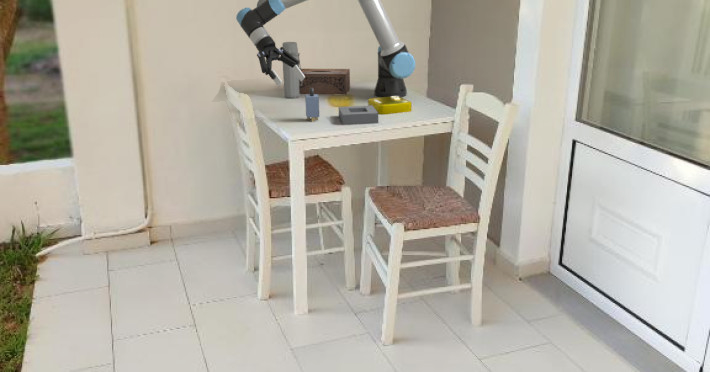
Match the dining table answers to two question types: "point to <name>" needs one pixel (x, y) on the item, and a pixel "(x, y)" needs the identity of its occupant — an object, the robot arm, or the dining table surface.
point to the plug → (312, 105)
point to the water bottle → (291, 72)
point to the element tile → (390, 105)
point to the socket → (358, 115)
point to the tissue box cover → (325, 81)
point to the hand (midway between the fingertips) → (292, 81)
